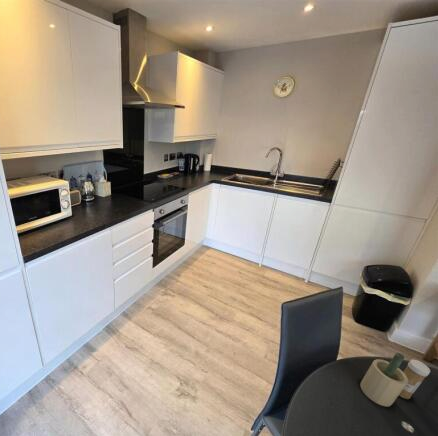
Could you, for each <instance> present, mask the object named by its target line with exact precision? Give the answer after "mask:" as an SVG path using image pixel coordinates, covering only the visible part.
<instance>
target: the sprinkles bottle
mask: <svg viewBox="0 0 438 436" xmlns="http://www.w3.org/2000/svg"><path fill="white" fill-rule="evenodd" d="M402 372H403V373H404V374H405V375H406V377H407V379H408V382H407V384H406V386H405V387H404V388H403V390H402V391H401V393H400V394H399V395H398V397H400V398H403V399H406V400H409V399H411V398H412V395H414V393H415V392H416V391H417V390H418V388H419V387H420V385H421V384H422V383H423V382H424V380H425V378H426V377H428V376H429V375H430V373H431V369H430V368H429V366H427V364H425V363H424V362H422V361H420V360H417V359H410V360H409V362H408V363H407V366H406V367H405V369H403V371H402Z"/></svg>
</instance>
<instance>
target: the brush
mask: <svg viewBox="0 0 438 436" xmlns="http://www.w3.org/2000/svg"><path fill="white" fill-rule="evenodd" d="M404 359H405V356H404V355H403V354H402V353H400V352H395V353H394V355H393V357H392V358H391V360H390V361H389V362H390V363H389V364H388V366H387V368H386V369H385V371H384V372H383V374H385V375H386V376H387V377H389V378H392V376H393V375H394V373H395V372H396V370H397V369H398V368H400V366H401V364H402V363H403V361H404Z"/></svg>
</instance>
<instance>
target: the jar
mask: <svg viewBox="0 0 438 436" xmlns="http://www.w3.org/2000/svg"><path fill="white" fill-rule="evenodd" d="M389 363H390V361H387V360H384V359H381V358H376V359H374V360H373V361H372V363H371V365H370V366H369V368H368V370H367V371H366V372H365V374H364V375H363V378H362V379H361V382H360V384H359V385H360V388H361V391H362V392H363V394H364V395H365V396H366V397H367V398H368V399H370V400H371V402H374V403H375V404H376V405H379V406H382V407H391V406H392V405H393V404H394V403H395V401H396V400H397V398H398V397H399V394H400V393H401V391H402V390H403V388H404V387H405V386H406V384H407V382H408V379H407V377H406V375H405V374H404V373H403V372H404V371H403V370H402V369H400V367H398V369H397V370H396V372H395V373H394V375H393V376H392V378H389V377H387V376H386V375H385V374H383V372H384V371H385V369H386V368H387V366H388V364H389Z"/></svg>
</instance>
